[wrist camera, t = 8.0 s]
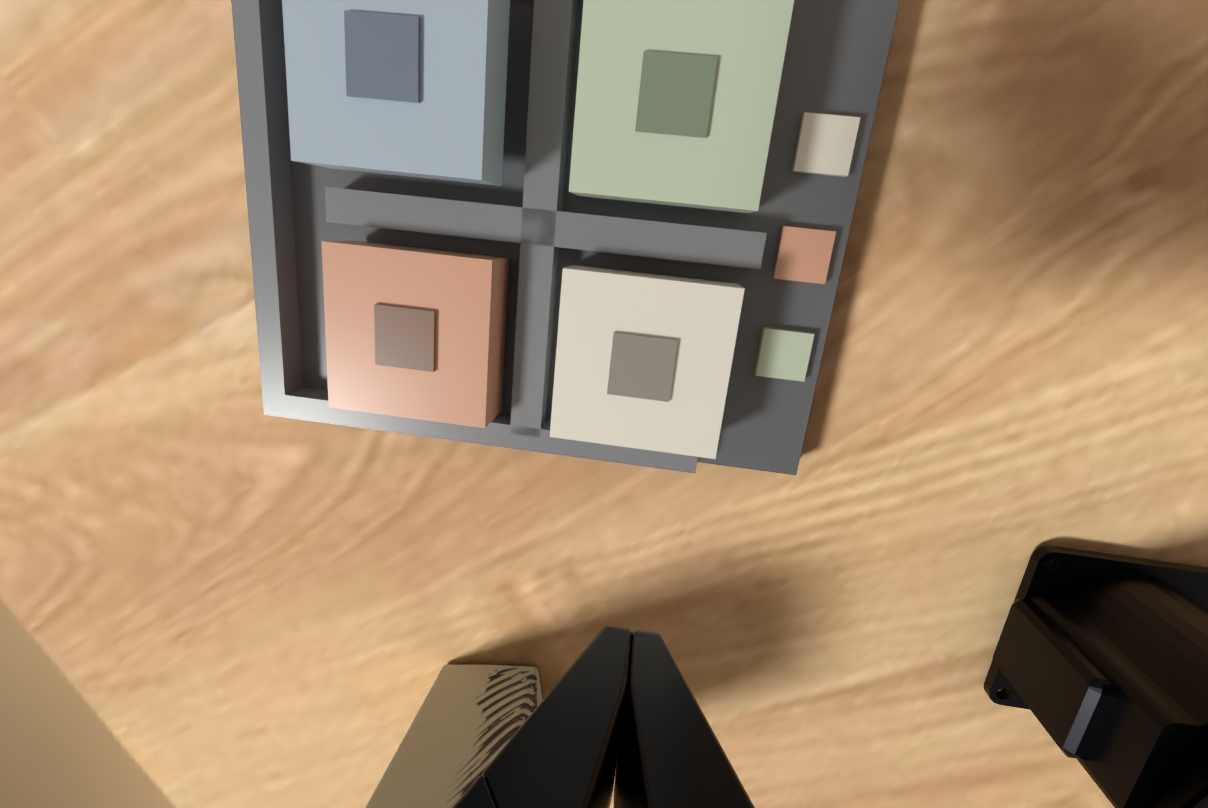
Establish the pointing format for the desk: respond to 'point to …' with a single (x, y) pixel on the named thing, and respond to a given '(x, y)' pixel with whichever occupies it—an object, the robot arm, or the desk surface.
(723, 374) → the key ivory
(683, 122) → the key sage
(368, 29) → the key slate
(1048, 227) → the desk surface
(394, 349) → the key terracotta
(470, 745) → the box
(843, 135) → the grey compartment tray
